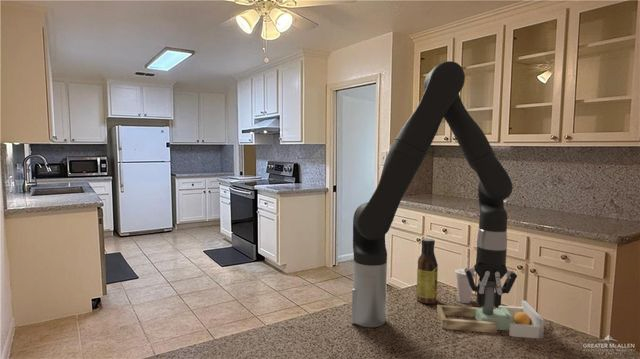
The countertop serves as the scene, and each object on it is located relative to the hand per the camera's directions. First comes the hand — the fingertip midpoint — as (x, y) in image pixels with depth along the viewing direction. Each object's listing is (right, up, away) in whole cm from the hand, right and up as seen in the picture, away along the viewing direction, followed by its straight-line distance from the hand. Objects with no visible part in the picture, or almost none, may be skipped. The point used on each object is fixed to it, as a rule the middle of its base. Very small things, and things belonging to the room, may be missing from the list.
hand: (488, 305), depth 109 cm
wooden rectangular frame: (-6, -5, +1) cm, 8 cm away
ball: (+9, -3, -1) cm, 10 cm away
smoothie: (-1, -4, +17) cm, 17 cm away
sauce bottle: (-13, -4, +16) cm, 21 cm away
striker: (+1, -5, 0) cm, 5 cm away
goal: (+8, -5, -1) cm, 10 cm away
